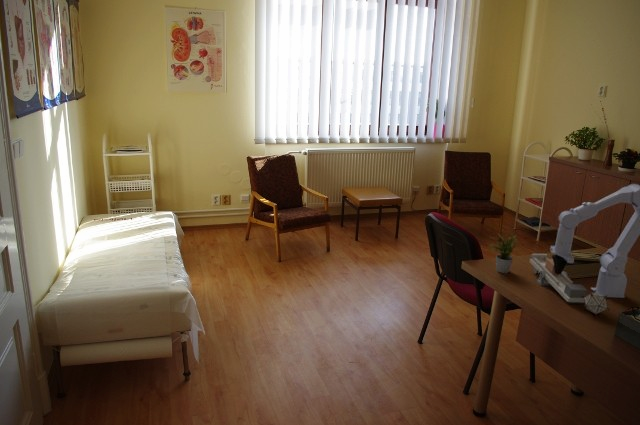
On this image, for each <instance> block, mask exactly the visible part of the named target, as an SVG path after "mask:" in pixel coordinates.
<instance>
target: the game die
mask: <svg viewBox="0 0 640 425" xmlns="http://www.w3.org/2000/svg"><path fill="white" fill-rule="evenodd" d="M582 297H583V298H584V301H585V303H584V306H583V307H584V311H586V310H587V311H590V312H591V313H593V314H594V316H595V317H597V315H599V314H600V313H602V312H605V311H606V310H608V311H611V308H608V303H607V298H608V297H607V296H603V295H601V294H599V293H597V292H596V290H595V292H594V291H593V292H591V293H589V294H586V296H585V297H584V296H582Z"/></svg>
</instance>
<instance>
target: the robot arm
mask: <svg viewBox="0 0 640 425" xmlns="http://www.w3.org/2000/svg"><path fill="white" fill-rule="evenodd" d="M619 203H623V204H628V205H629V204H630V205H632V207H633V209H634V213H633V214H632V216H631V217H630V219H629V221H628V222H627V224H626V225H625V227H624V229H623V230H622V232H621V234H620V235H619V236H618V238H617V239H616V242H615V243H614V245H613V247H610V248H608V249H607V251H606V252H605V253H604V254H601V256H600V257H599V258H600V259H599V263H600V265H601V267H600V268H599V272H598V277H597V281H596V286H595V287H590V290H591V291H593V293H594V292H595V290H596V292H597V293H599V294H601V295H603V296H607V297H606V298H621V299H623V298H626V296H625V292H626V289H627V283H628V279H627V275H626V274H625V273H624V272H625V270H626V264H627V262H628V254H629V253H630V251H631V249H632V248H633V246H634V244H635V243H636V241H637V240H638V238H639V236H640V184H638V183H631V184H629V185H627V186H623V187H621V188H620V189H618V190H617V191H615V192H613V193H611V194H609V195H607V196H605V197H603V198H602V199H598V200H597V201H595V202H591V201H588V202H585V201H584V202H582V203H581V205H579V206H576V207H574V208H570V209H569V210H564V211H562V212H561V213H560V214H559V216H558V217H557V219H558V221H559V225H558V229H557V232H556V239H555V245H550V247H549V251H550V253H551V254H552V255H551V259H553V262H554V269H555V273H556V274H561V273H562V271H564V269H565V267H566V266H567V265H568V264H574V261H575V258H574V257H573V255H572V254H571V249H572V245H573V241H574V235H575V228H577V227H578V226H579V224H580V223H582V222H584V221H586V220H588V219H591V218H593V217H596V216H597V214H598V213H599V211H601V210H604V209H606V208H609V207H612V206H614V205H616V204H619Z"/></svg>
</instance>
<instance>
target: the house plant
mask: <svg viewBox="0 0 640 425" xmlns="http://www.w3.org/2000/svg"><path fill="white" fill-rule="evenodd" d="M498 236H499V238H500V241H499V240H498V239H497V238H495V237H491V236H490V238H492V240H495V242H496V244H497V245H494V244H488V245H489V246H490V247H492V249H491V253H492V252H498V253H500V254H496V255H495V271H496V272H498V273H502V274H508V273H509V272H510V269H511V268H512V267H511V266H512V263H513V260H514V258H513V257H512V254H513V252H514V249H515V248H517V246H518V242H519V240H517V239H516V237H517V235H513V236H512V237H511V236H509V237H508V239H507V240H505V238H504V237H503V236H502V235H501V234H500V233H498ZM516 252H518V253H521V251H519V250H516V251H515V253H516Z"/></svg>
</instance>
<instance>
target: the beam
mask: <svg viewBox="0 0 640 425" xmlns="http://www.w3.org/2000/svg"><path fill="white" fill-rule="evenodd" d="M546 259H549V258H548V254H547V253H531V257H530V259H529V263H530V264H531V265H532V266H533V268H534V269H535V268H536V269H537V270H538V271H539V272H540V271H544V272H545V277H544V280H547V281H548V282H549V283H550V284H551V285H552V286H551V287H553V289H555V291H556V292H557V293H559V295H560V296H561V297H562V298H563V299H564V301H565V300H566V301H567V302H582V303H584V304H585V301H584V298H583V297H582V296H584V297H585V296H587V291H588V289H587V288H586V287H585V286H584V285H583V284H575V283H574V282H573V280H571V279H570V277H568V275H567V276H566V275H565V274H564V273H563V272H562V273H561V274H559V276H553V275H552V274H551V273H550V272H549V271H548V270H547V269H546V268H545V264H546ZM566 301H565V302H566ZM567 302H566V303H567Z"/></svg>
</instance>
